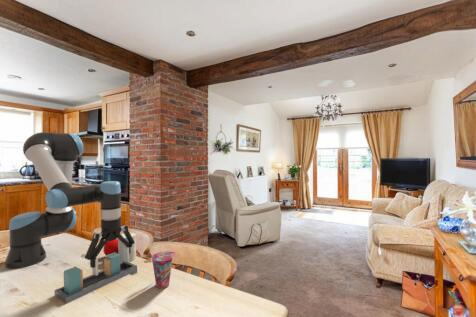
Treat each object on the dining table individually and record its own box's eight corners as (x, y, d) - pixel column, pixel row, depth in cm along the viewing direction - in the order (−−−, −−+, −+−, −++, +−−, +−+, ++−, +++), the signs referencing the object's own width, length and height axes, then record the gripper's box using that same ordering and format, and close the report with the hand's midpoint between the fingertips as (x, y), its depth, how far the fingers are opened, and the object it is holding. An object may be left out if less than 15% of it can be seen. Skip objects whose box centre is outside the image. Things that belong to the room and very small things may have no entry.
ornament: (122, 258, 121) (122, 239, 121) (102, 261, 118) (102, 241, 117) (123, 251, 129) (123, 233, 129) (104, 254, 126) (104, 235, 126)
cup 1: (129, 263, 116) (129, 238, 116) (114, 261, 118) (114, 237, 118) (139, 256, 124) (139, 233, 124) (125, 254, 126) (125, 232, 125)
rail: (54, 298, 88) (54, 290, 88) (125, 267, 112) (125, 260, 112) (66, 306, 83) (66, 298, 83) (137, 272, 107) (137, 265, 107)
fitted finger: (83, 291, 90) (83, 268, 90) (69, 298, 86) (68, 273, 86) (78, 288, 93) (77, 265, 92) (64, 294, 88) (63, 270, 88)
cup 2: (165, 292, 91) (165, 261, 91) (147, 288, 94) (146, 258, 94) (178, 280, 100) (178, 252, 100) (161, 277, 103) (161, 249, 103)
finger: (104, 277, 101) (103, 256, 101) (115, 272, 105) (114, 252, 105) (109, 280, 99) (108, 258, 98) (120, 275, 103) (120, 254, 102)
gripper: (132, 210, 114) (132, 254, 114) (74, 224, 93) (75, 278, 93) (142, 212, 110) (142, 258, 110) (83, 227, 89) (84, 283, 89)
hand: (111, 267), depth 102 cm, fingers open, 13 cm apart
